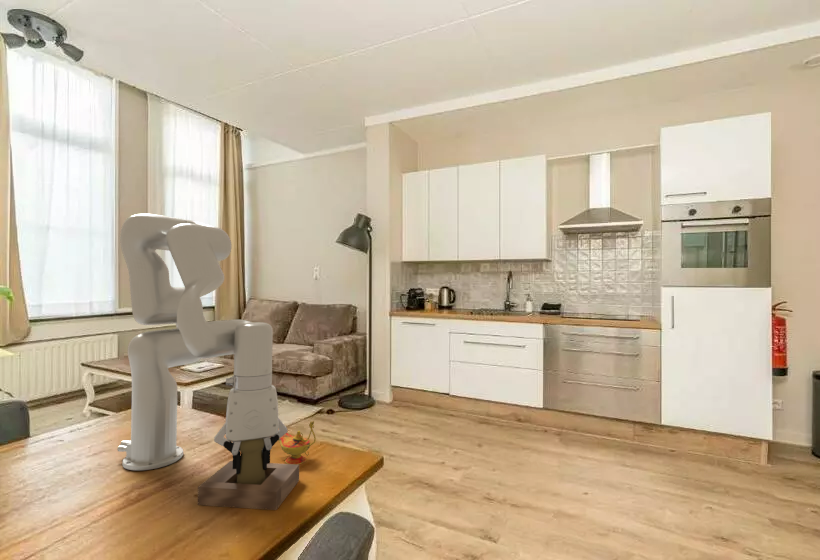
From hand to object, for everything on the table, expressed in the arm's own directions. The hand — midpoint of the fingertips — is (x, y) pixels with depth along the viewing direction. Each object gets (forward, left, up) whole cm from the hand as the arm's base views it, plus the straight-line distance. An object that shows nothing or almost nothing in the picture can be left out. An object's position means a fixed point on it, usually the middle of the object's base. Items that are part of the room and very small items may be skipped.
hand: (251, 468), depth 85 cm
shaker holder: (0, 0, -5) cm, 5 cm away
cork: (0, 0, -4) cm, 4 cm away
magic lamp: (+2, +17, -5) cm, 18 cm away
